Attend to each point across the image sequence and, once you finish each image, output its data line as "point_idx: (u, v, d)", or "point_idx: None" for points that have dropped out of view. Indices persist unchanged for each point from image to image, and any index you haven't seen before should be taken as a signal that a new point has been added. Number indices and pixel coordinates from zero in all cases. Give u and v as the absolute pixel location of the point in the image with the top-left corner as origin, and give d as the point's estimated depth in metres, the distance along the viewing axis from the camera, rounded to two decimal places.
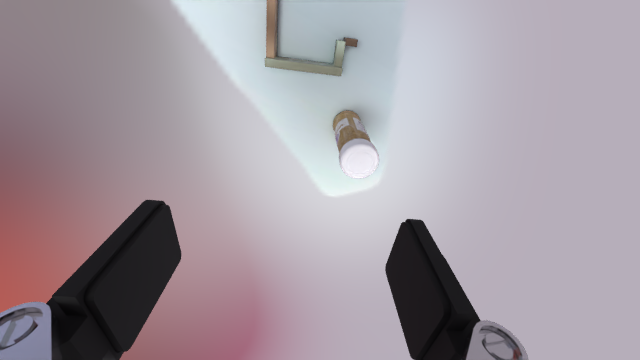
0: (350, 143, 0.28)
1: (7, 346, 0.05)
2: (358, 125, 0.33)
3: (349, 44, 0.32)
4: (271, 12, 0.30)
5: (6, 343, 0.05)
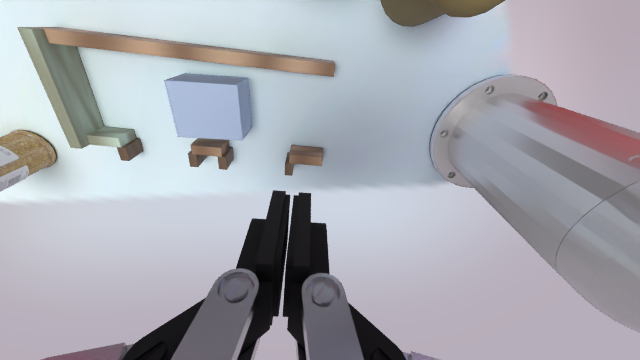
0: None
1: (228, 299, 0.07)
2: None
3: (120, 152, 0.26)
4: (112, 45, 0.21)
5: (229, 293, 0.07)
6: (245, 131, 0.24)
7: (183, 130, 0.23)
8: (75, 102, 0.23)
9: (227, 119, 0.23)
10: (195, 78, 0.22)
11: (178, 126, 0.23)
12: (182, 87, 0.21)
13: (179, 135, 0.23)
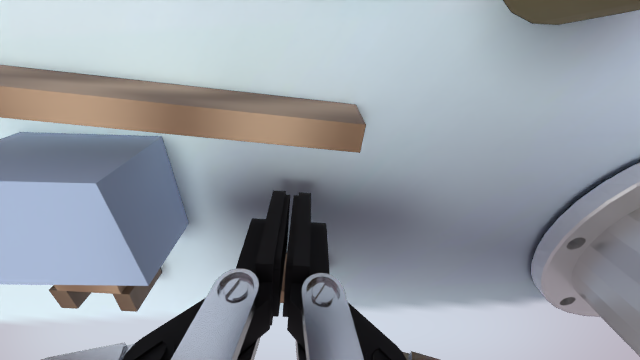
0: None
1: (228, 299, 0.07)
2: None
3: None
4: None
5: (229, 293, 0.07)
6: (161, 254, 0.11)
7: (2, 274, 0.10)
8: None
9: (97, 251, 0.09)
10: (13, 155, 0.09)
11: None
12: None
13: None
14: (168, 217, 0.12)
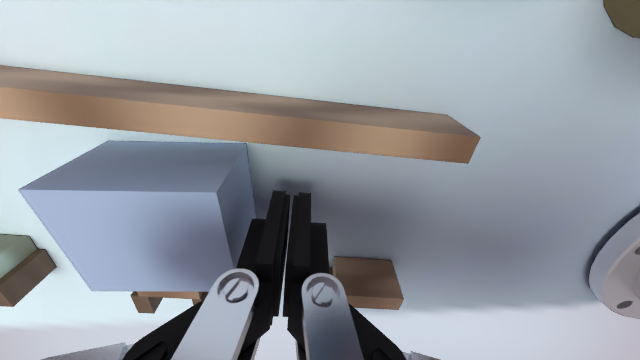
0: None
1: (228, 299, 0.07)
2: None
3: None
4: None
5: (229, 293, 0.07)
6: None
7: (99, 281, 0.10)
8: None
9: (199, 258, 0.09)
10: (117, 164, 0.09)
11: (86, 275, 0.10)
12: (70, 202, 0.08)
13: (94, 289, 0.10)
14: (248, 223, 0.12)
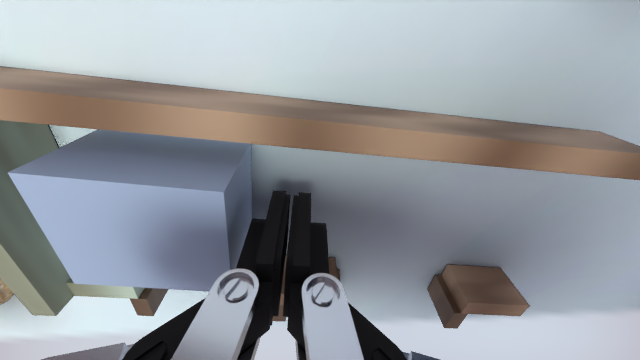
0: None
1: (228, 299, 0.07)
2: None
3: (136, 304, 0.13)
4: (125, 120, 0.08)
5: (229, 294, 0.07)
6: None
7: (85, 274, 0.09)
8: (39, 229, 0.10)
9: (196, 257, 0.09)
10: (117, 153, 0.09)
11: (71, 267, 0.09)
12: (65, 190, 0.07)
13: (77, 281, 0.10)
14: (245, 223, 0.12)
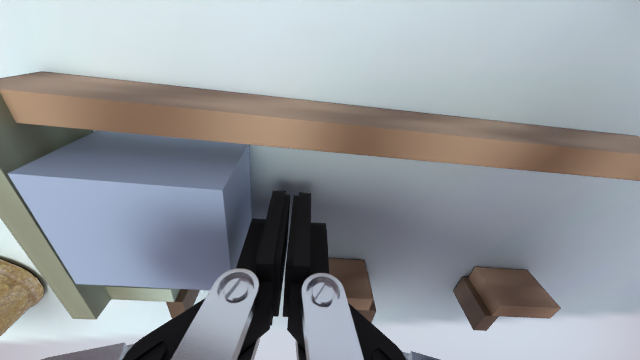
0: None
1: (228, 299, 0.07)
2: None
3: (171, 307, 0.13)
4: (183, 126, 0.08)
5: (229, 293, 0.07)
6: None
7: (86, 274, 0.09)
8: None
9: (196, 255, 0.09)
10: (116, 153, 0.09)
11: (72, 267, 0.09)
12: (64, 190, 0.07)
13: (78, 281, 0.10)
14: (245, 222, 0.12)
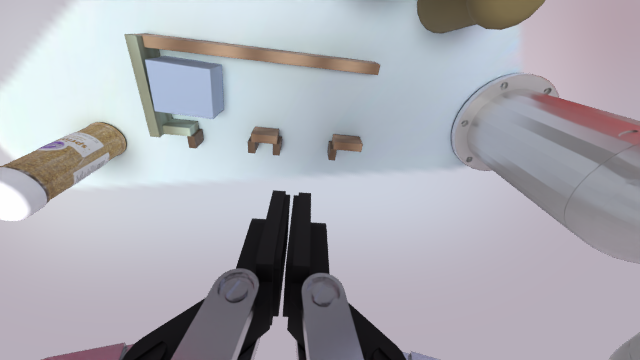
0: (22, 183, 0.21)
1: (228, 299, 0.07)
2: (87, 168, 0.26)
3: (189, 140, 0.30)
4: (197, 49, 0.25)
5: (229, 293, 0.07)
6: (216, 111, 0.28)
7: (159, 106, 0.26)
8: None
9: (200, 98, 0.26)
10: (173, 60, 0.25)
11: (155, 101, 0.26)
12: (160, 67, 0.24)
13: (156, 110, 0.26)
14: (219, 99, 0.28)
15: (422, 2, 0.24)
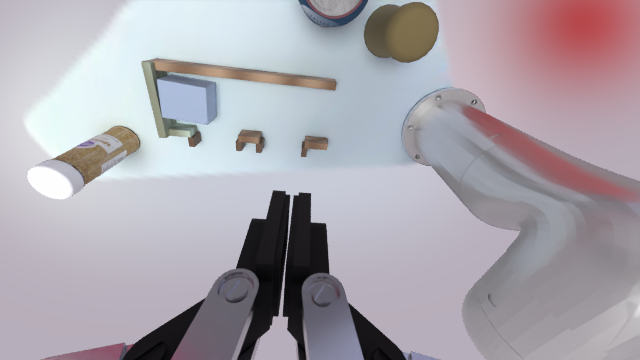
0: (68, 171, 0.28)
1: (228, 299, 0.07)
2: (111, 162, 0.34)
3: (189, 140, 0.37)
4: (195, 71, 0.32)
5: (229, 293, 0.07)
6: (210, 118, 0.36)
7: (166, 113, 0.34)
8: None
9: (197, 109, 0.34)
10: (178, 79, 0.33)
11: (163, 110, 0.34)
12: (168, 85, 0.32)
13: (163, 116, 0.34)
14: (213, 109, 0.36)
15: (366, 35, 0.32)
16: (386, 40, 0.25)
